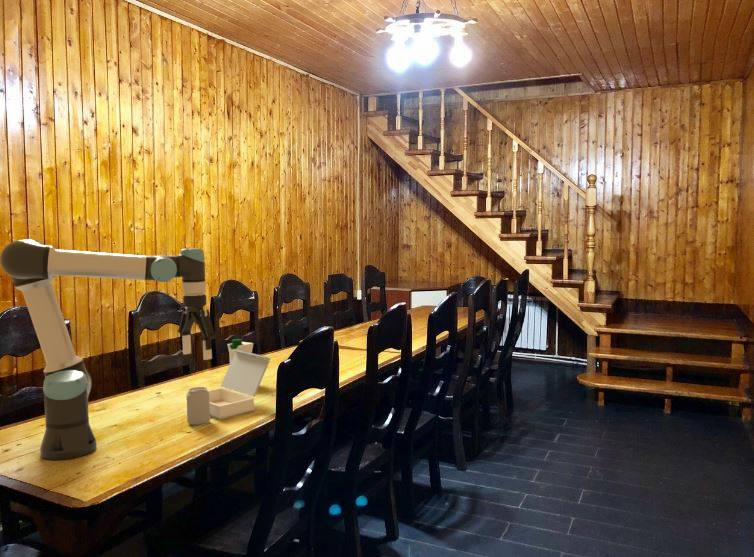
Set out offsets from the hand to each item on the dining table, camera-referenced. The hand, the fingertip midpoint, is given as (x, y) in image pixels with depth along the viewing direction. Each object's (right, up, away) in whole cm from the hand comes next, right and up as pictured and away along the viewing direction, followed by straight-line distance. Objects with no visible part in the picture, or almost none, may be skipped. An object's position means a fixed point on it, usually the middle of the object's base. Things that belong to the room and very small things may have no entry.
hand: (197, 356), depth 214 cm
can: (0, -23, +2) cm, 23 cm away
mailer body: (+4, -22, +17) cm, 28 cm away
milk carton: (+4, -19, +53) cm, 56 cm away
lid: (+10, -8, +22) cm, 26 cm away
